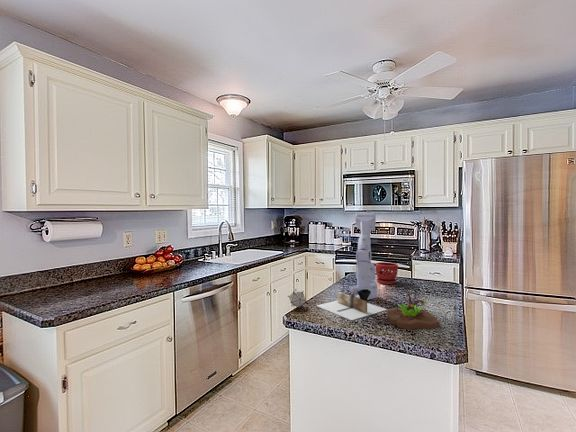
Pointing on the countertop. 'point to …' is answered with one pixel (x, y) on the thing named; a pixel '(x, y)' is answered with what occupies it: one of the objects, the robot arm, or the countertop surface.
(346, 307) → the card
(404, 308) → the plant
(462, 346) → the countertop surface
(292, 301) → the game die
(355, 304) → the brown wooden board
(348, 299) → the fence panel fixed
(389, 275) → the plant pot
